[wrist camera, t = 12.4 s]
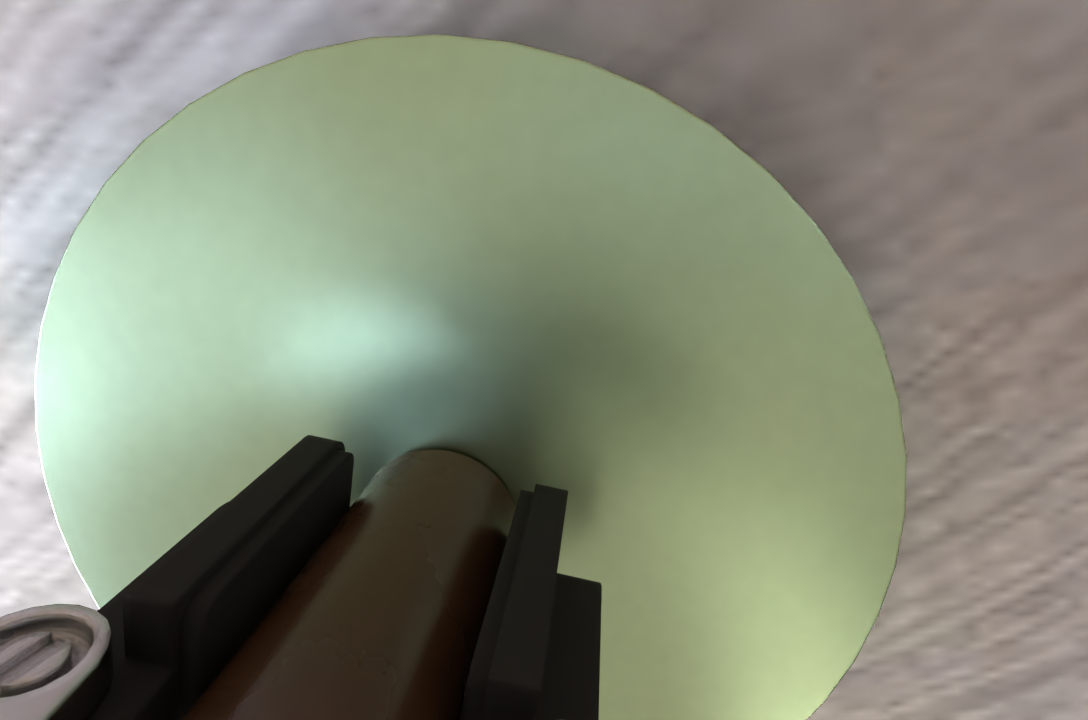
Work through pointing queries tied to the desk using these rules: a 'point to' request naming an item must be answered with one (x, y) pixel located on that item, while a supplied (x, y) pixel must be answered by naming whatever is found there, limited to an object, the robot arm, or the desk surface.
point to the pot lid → (479, 380)
